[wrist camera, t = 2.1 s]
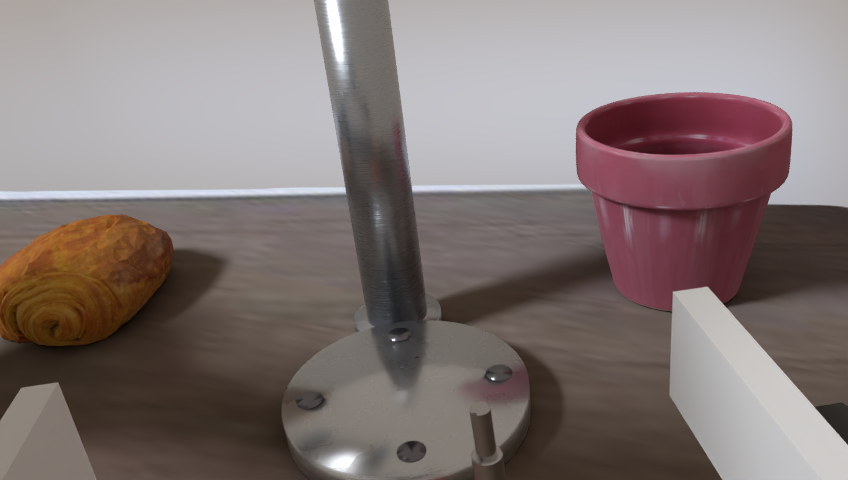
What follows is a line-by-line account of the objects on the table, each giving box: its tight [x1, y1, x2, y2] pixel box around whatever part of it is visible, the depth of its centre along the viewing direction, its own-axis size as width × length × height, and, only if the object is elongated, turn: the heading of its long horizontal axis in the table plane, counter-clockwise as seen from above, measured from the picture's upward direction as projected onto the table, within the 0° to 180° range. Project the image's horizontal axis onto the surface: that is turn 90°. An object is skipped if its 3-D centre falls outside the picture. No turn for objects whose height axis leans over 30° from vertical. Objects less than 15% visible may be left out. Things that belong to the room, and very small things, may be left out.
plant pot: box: [576, 92, 792, 311], centre depth 55 cm, size 14×14×13 cm
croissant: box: [0, 214, 174, 346], centre depth 64 cm, size 14×16×8 cm
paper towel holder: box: [281, 0, 531, 480], centre depth 44 cm, size 15×21×28 cm
